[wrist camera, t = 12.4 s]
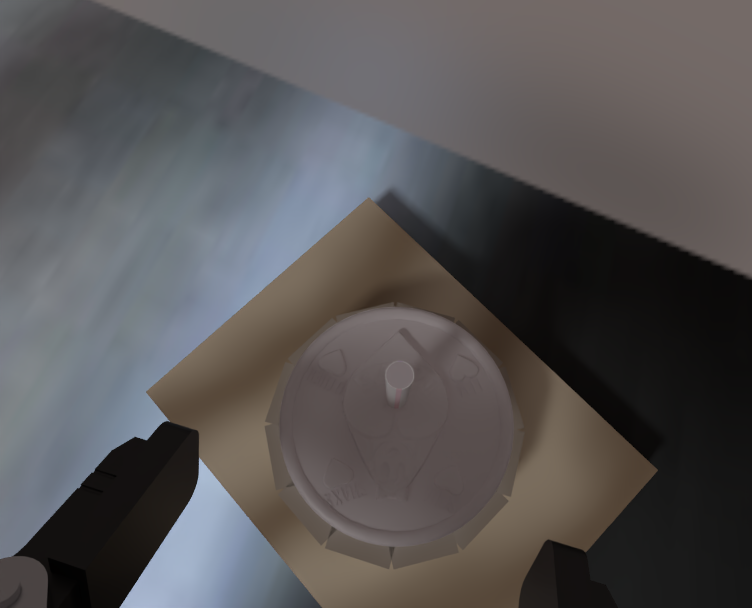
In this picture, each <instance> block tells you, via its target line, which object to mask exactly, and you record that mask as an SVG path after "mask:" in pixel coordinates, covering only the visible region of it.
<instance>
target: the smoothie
mask: <svg viewBox="0 0 752 608" xmlns="http://www.w3.org/2000/svg"><path fill="white" fill-rule="evenodd" d="M279 432H280V443H281V449H282V454H283V458H284V461H285V464H286V467H287V470H288V473H289V475H290V477H291V479H292V481H293V483H294V485H295V487H296V488H297V490H298V492H299V493H300V495H301V496H302V497H303V499H304V500H305V502H306V503H307V504H308V505H309V506H310V507H311V509H312V510H313V511H314V512H315V513H316V514H317V515H318V516H320V517H321V518H322V519H323V520H324V521H325V522H327V523H328V524H329V525H331V526H332V527H334V528H335V529H337V530H339V531H340V532H342V533H344V534H346V535H348V536H350V537H352V538H355V539H357V540H360V541H363V542H366V543H371V544H375V545H381V546H390V547H405V546H415V545H420V544H424V543H429V542H432V541H435V540H438V539H440V538H442V537H445V536H447V535H449V534H451V533H453V532H455V531H456V530H458V529H460V528H461V527H463V526H464V525H465V524H467V523H468V522H469V521H471V520H472V519H473V518H474V517H475V516H476V515H477V514H478V513H479V512H480V511H481V510H482V509H483V508H484V507H485V506H486V505H487V503H488V502H489V501H490V499H491V498H492V497H493V495H494V494H495V492H496V490H497V489H498V487H499V485H500V483H501V481H502V479H503V477H504V475H505V472H506V469H507V466H508V463H509V460H510V456H511V451H512V445H513V438H514V420H513V410H512V404H511V400H510V396H509V392H508V389H507V386H506V384H505V381H504V379H503V377H502V374H501V372H500V370H499V368H498V367H497V365H496V364H495V362H494V360H493V359H492V357H491V356H490V355H489V353H488V352H487V351H486V349H485V348H484V347H483V346H482V345H481V344H480V343H479V342H478V341H477V340H476V339H475V338H474V337H473V336H472V335H471V334H469V333H468V332H467V331H465V330H464V329H463V328H461V327H460V326H458V325H457V324H455V323H453V322H452V321H450V320H448V319H446V318H444V317H442V316H439V315H436V314H434V313H431V312H427V311H424V310H420V309H414V308H407V307H384V308H376V309H371V310H367V311H364V312H360V313H357V314H355V315H352V316H350V317H347V318H345V319H343V320H341V321H340V322H338V323H336V324H335V325H333V326H331V327H330V328H328V329H327V330H326V331H325V332H323V333H322V334H321V335H320V336H319V337H318V338H317V339H315V340H314V341H313V342H312V343H311V345H310V346H309V347H308V348H307V349H306V350H305V352H304V353H303V354H302V356H301V357H300V359H299V360H298V362H297V363H296V365H295V367H294V369H293V370H292V373H291V375H290V377H289V379H288V382H287V384H286V387H285V390H284V394H283V398H282V402H281V409H280V419H279Z"/></svg>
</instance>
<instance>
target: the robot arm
mask: <svg viewBox="0 0 752 608" xmlns="http://www.w3.org/2000/svg"><path fill="white" fill-rule="evenodd" d="M198 473H199V432H198V431H197V430H195V429H191V428H188V427H185V426H182V425H178V424H175V423H172V422H169V421H166V422H163V423H162V424H161V425H160V426H159V427H158V428H157V429H156V430H155V432H154V433H153V434H152V435H151V436H150V437H149V439H148V440H143V439H140V438H137V437H134V438H132V439H131V440H129V441H127V442H126V443H124V444H122V445H120V446H119V447H117V448H115V449H114V450H112V451H111V452H110V453H109V454H108V455H107V456H106V458H105V459H104V460H103V461H102V462H101V463H100V464H99V465H98V466H97V467H96V469H95V471H94V473H91V474H90V475H89V476H88V477H87V478H86V479H85V481H84V482H83V483H82V484H81V487H80V488H77V489H76V490H75V492H74V493H73V494H72V495H71V496H70V497H69V498H68V499H67V500H66V501H65V502H64V504H63V505H62V506H61V507H60V508H59V509H58V510H57V511H56V512H55V513H54V515H53V516H52V517H51V518H50V519H49V520H48V521H47V522H46V523H45V524H44V526H43V527H42V528H41V529H40V530H39V531H38V532H37V533H36V534H35V535H34V536H33V538H32V539H31V540H30V541H29V542H28V543H27V544H26V545H25V546H24V547H23V548H22V549H21V550H20V551H19V552H18V553H16V554H15V555H14V556H12V557H7V558H3V559H0V608H119V607H120V606H121V604H122V603H123V601H124V600H125V598H126V597H127V595H128V594H129V592H130V591H131V589H132V588H133V586H134V585H135V583H136V582H137V580H138V579H139V577H140V576H141V574H142V572H143V571H144V569H145V568H146V566H147V565H148V563H149V562H150V560H151V559H152V557H153V556H154V554H155V553H156V551H157V550H158V548H159V547H160V545H161V544H162V542H163V541H164V539H165V537H166V536H167V534H168V533H169V531H170V530H171V528H172V527H173V525H174V524H175V522H176V521H177V519H178V518H179V516H180V515H181V513H182V512H183V510H184V509H185V507H186V506H187V504H188V502H189V501H190V499H191V497H192V495H193V493H194V490H195V487H196V484H197V480H198ZM519 608H618V607H617V605H616V603H615V601H614V600H613V598H612V596H611V594H610V592H609V590H608V588H607V586H606V585H604V584H601V583H598V582H595V581H591V580H590V574H589V567H588V561H587V556H586V553H585V552H584V550H582V549H579V548H575V547H572V546H569V545H566V544H562V543H559V542H556V541H553V540H549V539H548V540H546V541H545V542H544V544H543V546H542V548H541V549H540V551H539V553H538V555H537V557H536V559H535V560H534V562H533V564H532V566H531V568H530V570H529V571H528V573H527V575H526V577H525V579H524V581H523V584H522V587H521V592H520V597H519Z"/></svg>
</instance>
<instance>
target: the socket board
mask: <svg viewBox="0 0 752 608" xmlns="http://www.w3.org/2000/svg"><path fill="white" fill-rule="evenodd" d="M384 307H407V308H414V309H420V310H424V311H427V312H431V313H434V314H436V315H439V316H442V317H444V318H446V319H448V320H450V321H452V322H453V323H455V324H457V325H458V326H460V327H461V328H463V329H464V330H465V331H467V332H468V333H469V334H471V335H472V336H473V337H474V338H475V339H476V340H477V341H478V342H479V343H480V344H481V345H482V346H483V347H484V348H485V349H486V351H487V352H488V353H489V355H490V356H491V357H492V359H493V360H494V362H495V364H496V365H497V367H498V368H499V370H500V372H501V374H502V377H503V379H504V381H505V384H506V386H507V389H508V392H509V396H510V400H511V404H512V410H513V420H514V438H513V445H512V451H511V456H510V460H509V463H508V466H507V469H506V472H505V475H504V477H503V479H502V481H501V483H500V485H499V487H498V489H497V490H496V492H495V494H494V495H493V497H492V498H491V499H490V501H489V502H488V503H487V505H486V506H485V507H484V508H483V509H482V510H481V511H480V512H479V513H478V514H477V515H476V516H475V517H474V518H473V519H472V520H471V521H469V522H468V523H467V524H465V525H464V526H463V527H461V528H460V529H458V530H456V531H455V532H453V533H451V534H449V535H447V536H445V537H442V538H440V539H438V540H435V541H432V542H429V543H424V544H420V545H415V546H405V547H390V546H381V545H375V544H371V543H366V542H363V541H360V540H357V539H355V538H352V537H350V536H348V535H346V534H344V533H342V532H340V531H339V530H337V529H335V528H334V527H332V526H331V525H329V524H328V523H327V522H325V521H324V520H323V519H322V518H321V517H320V516H318V515H317V514H316V513H315V512H314V511H313V510H312V509H311V507H310V506H309V505H308V504H307V503H306V502H305V500H304V499H303V497H302V496H301V495H300V493H299V492H298V490H297V488H296V487H295V485H294V483H293V481H292V479H291V477H290V475H289V473H288V470H287V467H286V464H285V461H284V458H283V454H282V449H281V443H280V432H279V419H280V409H281V402H282V398H283V394H284V390H285V387H286V384H287V382H288V379H289V377H290V375H291V373H292V370H293V369H294V367H295V365H296V363H297V362H298V360H299V359H300V357H301V356H302V354H303V353H304V352H305V350H306V349H307V348H308V347H309V346H310V345H311V343H312V342H313V341H314V340H315V339H317V338H318V337H319V336H320V335H321V334H322V333H323V332H325V331H326V330H327V329H328V328H330V327H331V326H333V325H335V324H336V323H338V322H340V321H341V320H343V319H345V318H347V317H350V316H352V315H355V314H357V313H360V312H364V311H367V310H371V309H376V308H384ZM146 393H147V394H148V395H149V396H150V398H151V399H152V400H153V401H154V402H155V404H156V405H157V406H158V407H159V409H160V410H161V411H162V412H163V413H164V415H165V416H166V417H167V418H168V420H169V421H170V422H172V423H175V424H178V425H182V426H185V427H188V428H191V429H195V430H197V431H198V432H199V458H200V459H201V460H202V461H203V462H204V464H205V465H206V466H207V467H208V469H209V470H210V471H211V472H212V473H213V475H214V476H215V477H216V478H217V480H218V481H219V482H220V483H221V484H222V486H223V487H224V488H225V489H226V491H227V492H228V493H229V494H230V495H231V497H232V498H233V499H234V500H235V502H236V503H237V504H238V505H239V506H240V508H241V509H242V510H243V511H244V513H245V514H246V515H247V516H248V517H249V519H250V520H251V521H252V522H253V524H254V525H255V526H256V527H257V528H258V530H259V531H260V532H261V533H262V535H263V536H264V537H265V538H266V539H267V541H268V542H269V543H270V544H271V546H272V547H273V548H274V549H275V550H276V552H277V553H278V554H279V555H280V557H281V558H282V559H283V560H284V561H285V563H286V564H287V565H288V566H289V568H290V569H291V570H292V571H293V572H294V574H295V575H296V576H297V577H298V579H299V580H300V581H301V582H302V583H303V585H304V586H305V587H306V588H307V590H308V591H309V592H310V593H311V594H312V596H313V597H314V598H315V599H316V601H317V602H318V603H319V604H320V606H321V607H322V608H519V597H520V592H521V587H522V584H523V581H524V579H525V577H526V575H527V573H528V571H529V570H530V568H531V566H532V564H533V562H534V560H535V559H536V557H537V555H538V553H539V551H540V549H541V548H542V546H543V544H544V542H545V541H546V540H548V539H549V540H553V541H556V542H559V543H562V544H566V545H569V546H572V547H575V548H579V549H582V550H584V552H586V551H587V550H588V549H589V548H590V547H591V546H592V545H593V543H594V542H595V541H596V540H597V539H598V538H599V537H600V535H601V534H602V533H603V532H604V531H605V530H606V529H607V527H608V526H609V525H610V524H611V523H612V522H613V521H614V520H615V518H616V517H617V516H618V515H619V514H620V513H621V512H622V510H623V509H624V508H625V507H626V506H627V505H628V504H629V503H630V501H631V500H632V499H633V498H634V497H635V496H636V495H637V493H638V492H639V491H640V490H641V489H642V488H643V487H644V485H645V484H646V483H647V482H648V481H649V480H650V479H651V478H652V476H653V475H654V474H655V473H656V472H657V471H658V470H657V469H656V468H655V467H654V466H653V465H652V464H651V463H650V462H649V461H648V460H647V459H645V458H644V457H643V456H642V455H641V454H640V453H639V452H638V451H637V450H636V449H635V448H634V447H633V446H632V445H631V444H630V443H629V442H627V441H626V440H625V439H624V438H623V437H622V436H621V435H620V434H619V433H618V432H617V431H616V430H615V429H614V428H613V427H612V426H611V425H609V424H608V423H607V422H606V421H605V420H604V419H603V418H602V417H601V416H600V415H599V414H598V413H597V412H596V411H595V410H594V409H593V408H591V407H590V406H589V405H588V404H587V403H586V402H585V401H584V400H583V399H582V398H581V397H580V396H579V395H578V394H577V393H576V392H575V391H573V390H572V389H571V388H570V387H569V386H568V385H567V384H566V383H565V382H564V381H563V380H562V379H561V378H560V377H559V376H558V375H557V374H555V373H554V372H553V371H552V370H551V369H550V368H549V367H548V366H547V365H546V364H545V363H544V362H543V361H542V360H541V359H540V358H539V357H537V356H536V355H535V354H534V353H533V352H532V351H531V350H530V349H529V348H528V347H527V346H526V345H525V344H524V343H523V342H522V341H521V340H519V339H518V338H517V337H516V336H515V335H514V334H513V333H512V332H511V331H510V330H509V329H508V328H507V327H506V326H505V325H504V324H503V323H501V322H500V321H499V320H498V319H497V318H496V317H495V316H494V315H493V314H492V313H491V312H490V311H489V310H488V309H487V308H486V307H485V306H483V305H482V304H481V303H480V302H479V301H478V300H477V299H476V298H475V297H474V296H473V295H472V294H471V293H470V292H469V291H468V290H466V289H465V288H464V287H463V286H462V285H461V284H460V283H459V282H458V281H457V280H456V279H455V278H454V277H453V276H452V275H451V274H450V273H448V272H447V271H446V270H445V269H444V268H443V267H442V266H441V265H440V264H439V263H438V262H437V261H436V260H435V259H434V258H433V257H432V256H430V255H429V254H428V253H427V252H426V251H425V250H424V249H423V248H422V247H421V246H420V245H419V244H418V243H417V242H416V241H415V240H414V239H412V238H411V237H410V236H409V235H408V234H407V233H406V232H405V231H404V230H403V229H402V228H401V227H400V226H399V225H398V224H397V223H396V222H394V221H393V220H392V219H391V218H390V217H389V216H388V215H387V214H386V213H385V212H384V211H383V210H382V209H381V208H380V207H379V206H378V205H376V204H375V203H374V202H373V201H372V200H371V199H370V198H369V197H368V198H367V199H366V200H365V201H364V202H363V203H362V204H360V205H359V206H358V207H357V208H356V209H355V210H354V211H352V212H351V213H350V214H349V215H348V216H347V217H346V218H344V219H343V220H342V221H341V222H340V223H339V224H338V225H336V226H335V227H334V228H333V229H332V230H331V231H330V232H328V233H327V234H326V235H325V236H324V237H323V238H322V239H320V240H319V241H318V242H317V243H316V244H315V245H314V246H312V247H311V248H310V249H309V250H308V251H307V252H306V253H304V254H303V255H302V256H301V257H300V258H299V259H298V260H296V261H295V262H294V263H293V264H292V265H291V266H290V267H288V268H287V269H286V270H285V271H284V272H283V273H282V274H280V275H279V276H278V277H277V278H276V279H275V280H273V281H272V282H271V283H270V284H269V285H268V286H267V287H265V288H264V289H263V290H262V291H261V292H260V293H259V294H257V295H256V296H255V297H254V298H253V299H252V300H251V301H249V302H248V303H247V304H246V305H245V306H244V307H243V308H241V309H240V310H239V311H238V312H237V313H236V314H235V315H233V316H232V317H231V318H230V319H229V320H228V321H227V322H225V323H224V324H223V325H222V326H221V327H220V328H219V329H217V330H216V331H215V332H214V333H213V334H212V335H211V336H209V337H208V338H207V339H206V340H205V341H204V342H203V343H201V344H200V345H199V346H198V347H197V348H196V349H195V350H193V351H192V352H191V353H190V354H189V355H188V356H187V357H185V358H184V359H183V360H182V361H181V362H180V363H179V364H177V365H176V366H175V367H174V368H173V369H172V370H170V371H169V372H168V373H167V374H166V375H165V376H164V377H162V378H161V379H160V380H159V381H158V382H157V383H156V384H154V385H153V386H152V387H151V388H150V389H149V390H148V391H146Z"/></svg>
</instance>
